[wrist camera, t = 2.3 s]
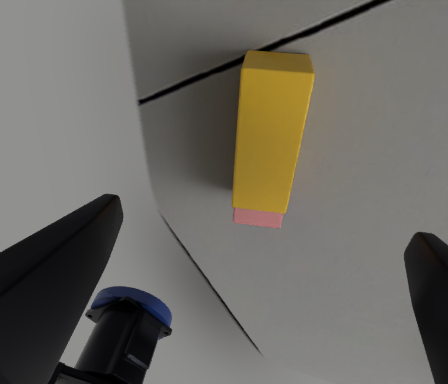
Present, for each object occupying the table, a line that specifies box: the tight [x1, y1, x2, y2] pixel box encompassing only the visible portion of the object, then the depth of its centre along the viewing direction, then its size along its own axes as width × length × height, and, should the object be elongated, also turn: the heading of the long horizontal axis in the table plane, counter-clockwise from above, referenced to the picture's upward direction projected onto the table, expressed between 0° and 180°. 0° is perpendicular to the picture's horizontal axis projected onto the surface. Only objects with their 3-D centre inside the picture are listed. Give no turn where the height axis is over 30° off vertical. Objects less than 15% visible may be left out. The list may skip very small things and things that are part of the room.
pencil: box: [232, 50, 315, 228], centre depth 13 cm, size 7×2×2 cm, turn 178°
